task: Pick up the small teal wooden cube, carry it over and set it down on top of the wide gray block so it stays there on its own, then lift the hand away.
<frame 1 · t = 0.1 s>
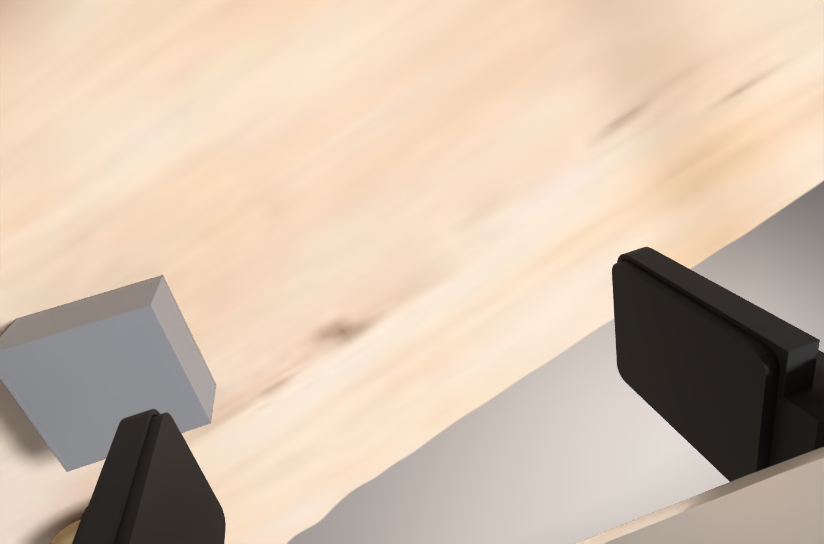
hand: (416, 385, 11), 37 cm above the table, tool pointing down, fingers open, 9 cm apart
bread roll: (133, 515, 55), on the table
gray block: (124, 352, 48), on the table
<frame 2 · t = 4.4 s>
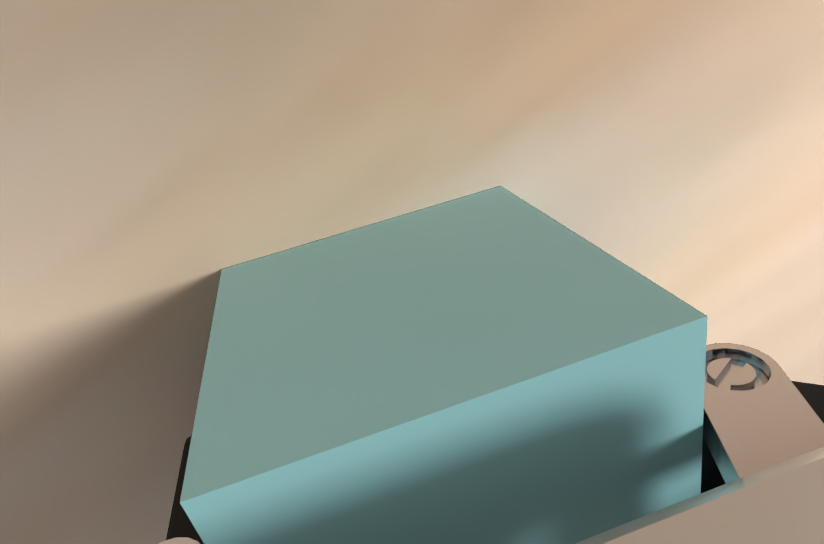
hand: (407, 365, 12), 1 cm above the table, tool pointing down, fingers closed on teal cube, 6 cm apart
teal cube: (398, 343, 12), on the table, touching gripper
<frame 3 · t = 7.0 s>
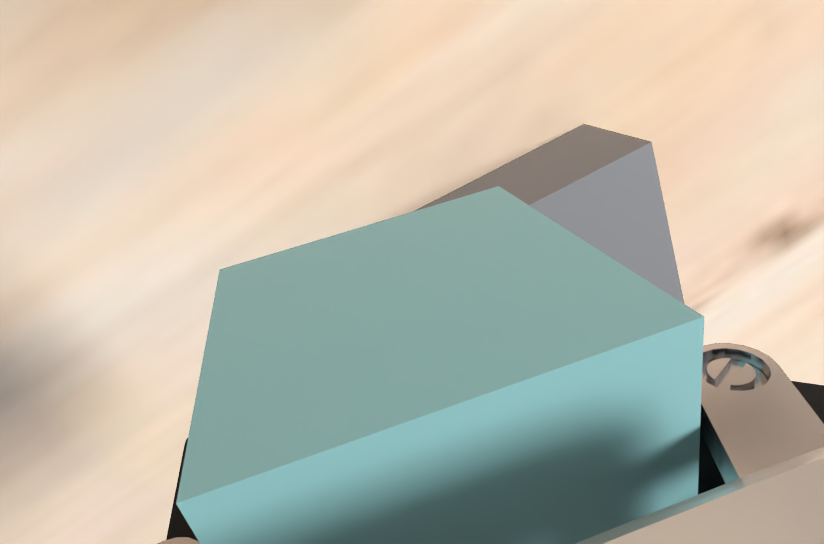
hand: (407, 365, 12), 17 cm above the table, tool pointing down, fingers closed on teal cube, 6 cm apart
gray block: (518, 260, 32), on the table
teal cube: (397, 344, 12), point 16 cm above the table, touching gripper
when the fingers open (8 cm above the table, at t = 9.9 s): teal cube drops 2 cm, resting on gray block.
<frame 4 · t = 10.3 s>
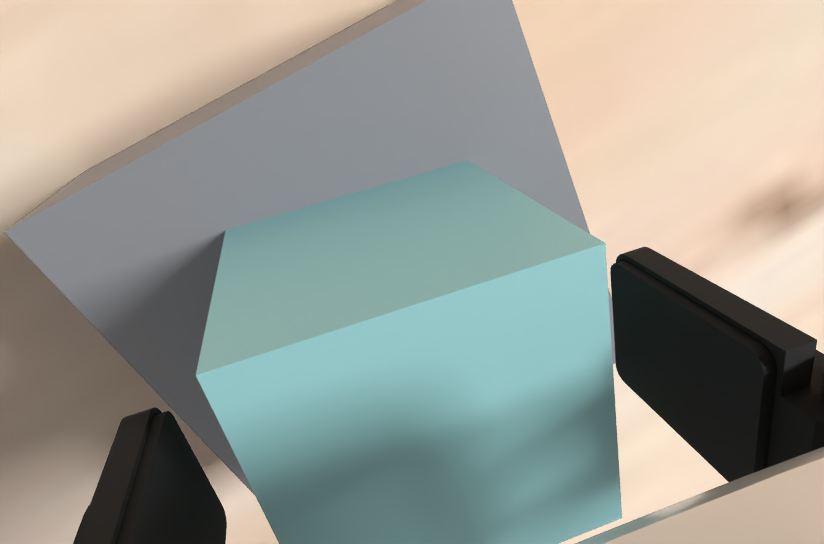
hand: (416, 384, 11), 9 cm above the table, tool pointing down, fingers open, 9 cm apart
gray block: (349, 232, 19), on the table, touching teal cube
teal cube: (380, 300, 14), point 6 cm above the table, touching gray block
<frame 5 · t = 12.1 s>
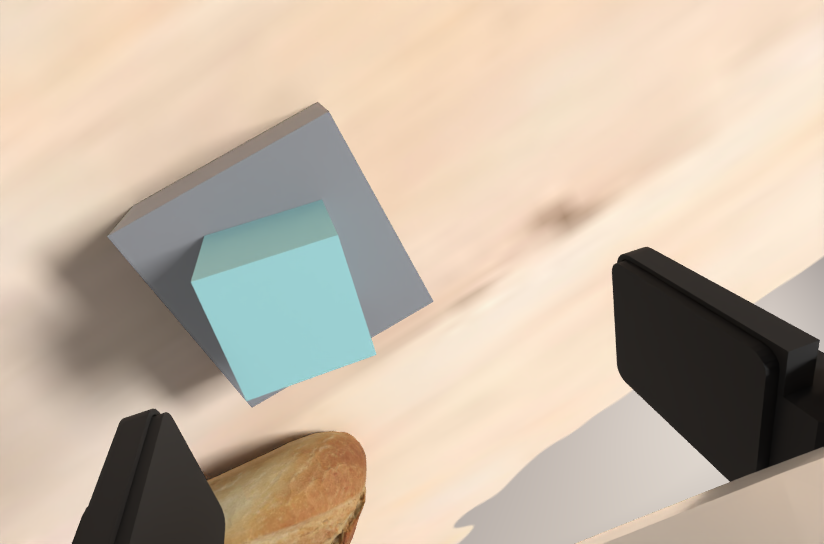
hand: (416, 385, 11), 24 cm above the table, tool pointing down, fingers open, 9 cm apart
bread roll: (270, 478, 40), on the table
gray block: (282, 237, 33), on the table
teal cube: (284, 270, 28), point 6 cm above the table
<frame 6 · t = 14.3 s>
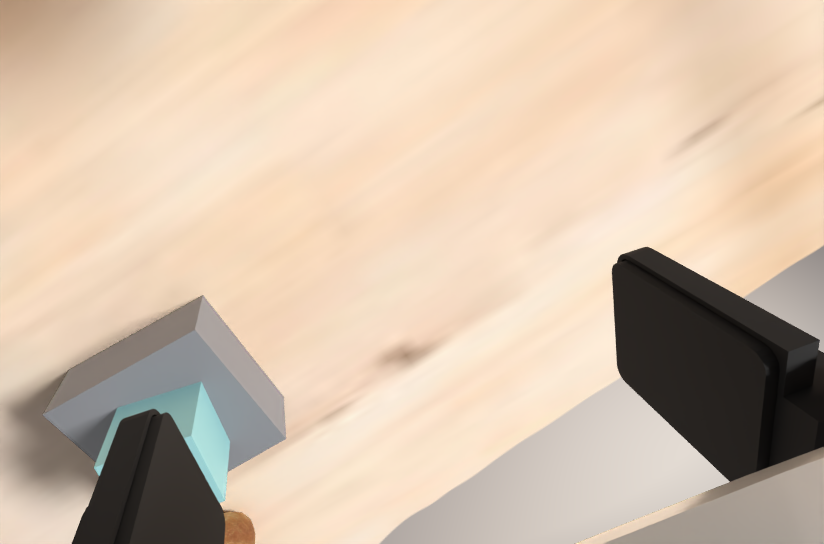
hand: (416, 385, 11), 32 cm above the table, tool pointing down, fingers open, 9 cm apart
bread roll: (184, 543, 52), on the table
gray block: (183, 382, 45), on the table, touching teal cube
teal cube: (176, 425, 40), point 6 cm above the table, touching gray block
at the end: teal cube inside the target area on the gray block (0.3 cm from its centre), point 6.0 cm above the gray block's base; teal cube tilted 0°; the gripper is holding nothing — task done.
